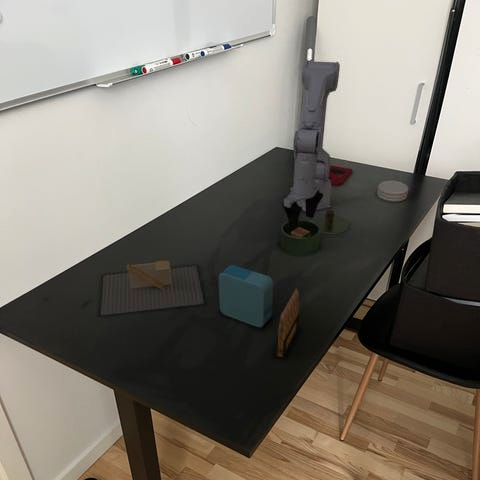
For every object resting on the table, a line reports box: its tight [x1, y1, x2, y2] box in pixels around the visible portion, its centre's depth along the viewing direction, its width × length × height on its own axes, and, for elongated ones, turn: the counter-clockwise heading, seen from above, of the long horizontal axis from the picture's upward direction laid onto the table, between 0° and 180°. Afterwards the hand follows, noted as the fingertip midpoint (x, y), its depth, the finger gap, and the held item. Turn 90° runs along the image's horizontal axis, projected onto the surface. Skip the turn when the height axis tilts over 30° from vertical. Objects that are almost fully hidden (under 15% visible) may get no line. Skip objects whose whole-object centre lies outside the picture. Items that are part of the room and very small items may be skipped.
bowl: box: [279, 218, 322, 255], centre depth 144 cm, size 11×11×5 cm
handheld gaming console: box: [328, 164, 353, 187], centre depth 183 cm, size 10×1×15 cm
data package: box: [218, 264, 274, 328], centre depth 116 cm, size 12×4×12 cm, turn 59°
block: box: [290, 227, 310, 238], centre depth 144 cm, size 4×4×4 cm
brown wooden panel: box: [275, 287, 300, 359], centre depth 109 cm, size 11×2×12 cm, turn 157°
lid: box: [309, 209, 350, 236], centre depth 153 cm, size 12×12×5 cm
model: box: [126, 260, 174, 291], centre depth 127 cm, size 3×11×8 cm, turn 100°
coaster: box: [376, 180, 409, 203], centre depth 170 cm, size 10×10×4 cm
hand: (301, 221), depth 141 cm, fingers open, 7 cm apart
